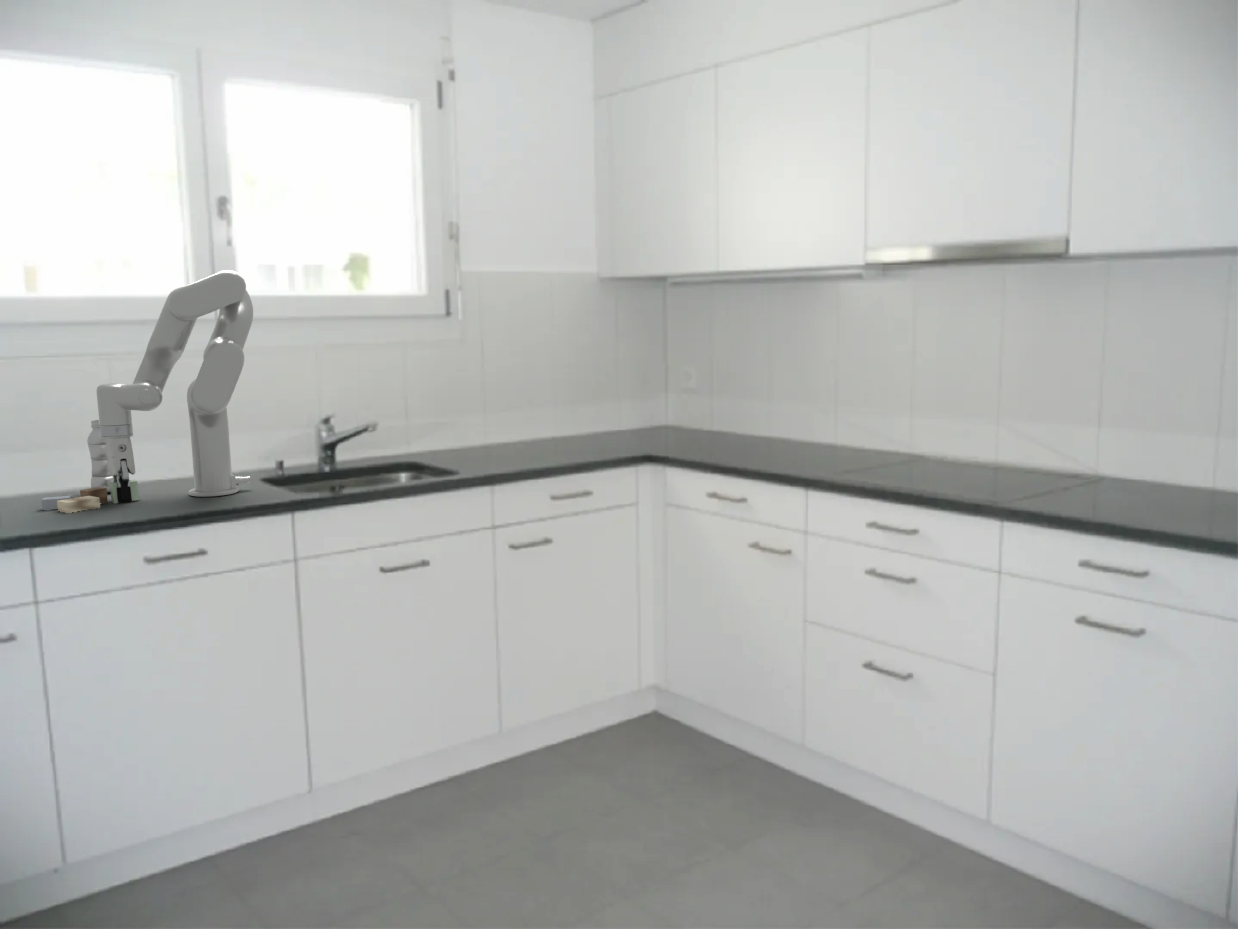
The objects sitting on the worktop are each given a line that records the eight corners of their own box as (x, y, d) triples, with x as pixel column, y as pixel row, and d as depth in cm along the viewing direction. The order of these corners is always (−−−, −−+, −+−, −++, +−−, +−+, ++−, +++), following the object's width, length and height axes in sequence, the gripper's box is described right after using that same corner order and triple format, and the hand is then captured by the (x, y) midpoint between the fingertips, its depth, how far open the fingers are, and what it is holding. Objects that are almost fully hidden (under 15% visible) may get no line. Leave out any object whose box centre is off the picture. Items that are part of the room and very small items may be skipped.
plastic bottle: (107, 490, 278) (100, 418, 275) (123, 492, 275) (117, 419, 272) (86, 494, 272) (79, 421, 269) (102, 495, 269) (96, 422, 266)
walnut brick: (100, 502, 261) (99, 487, 260) (107, 503, 259) (106, 488, 258) (81, 505, 257) (79, 490, 256) (88, 506, 255) (87, 491, 254)
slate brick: (72, 507, 255) (71, 495, 255) (69, 509, 252) (68, 498, 251) (45, 509, 253) (44, 497, 253) (42, 511, 250) (41, 499, 249)
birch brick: (89, 507, 255) (88, 495, 255) (100, 509, 252) (99, 497, 252) (58, 512, 249) (56, 500, 248) (68, 514, 246) (67, 502, 245)
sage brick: (136, 498, 265) (134, 479, 264) (139, 499, 262) (137, 481, 261) (111, 501, 261) (109, 482, 260) (114, 503, 258) (112, 484, 257)
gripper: (139, 432, 254) (146, 503, 257) (125, 427, 267) (131, 495, 270) (107, 435, 250) (114, 507, 252) (94, 430, 263) (100, 498, 265)
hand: (123, 500), depth 261 cm, fingers closed on sage brick, 3 cm apart
